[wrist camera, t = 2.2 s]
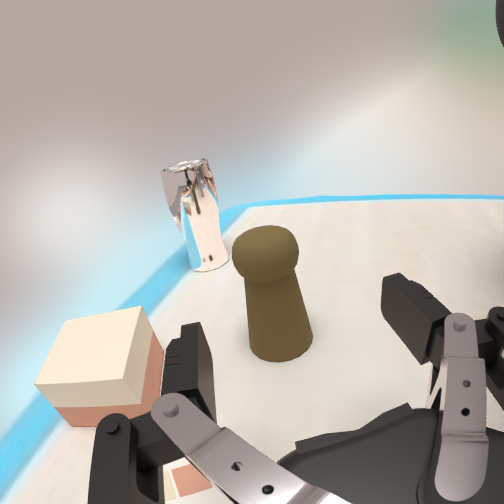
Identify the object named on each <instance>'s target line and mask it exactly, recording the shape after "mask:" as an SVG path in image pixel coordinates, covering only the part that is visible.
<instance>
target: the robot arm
mask: <svg viewBox="0 0 504 504" xmlns="http://www.w3.org/2000/svg"><path fill="white" fill-rule="evenodd" d="M496 24H497V30H498V34H499V37H500V40H501V43H502V45H503V47H504V0H496ZM381 311H382V314H383V317H384V318H385V320H386V321H387V322H388V323H389V325H390V326H391V327H392V328H393V330H394V331H395V332H396V333H397V335H398V336H399V337H400V339H401V340H402V341H403V342H404V344H405V345H406V346H407V348H408V349H409V350H410V351H411V353H412V354H413V355H414V357H415V358H416V359H417V361H418V362H419V363H420V365H423V364H425V363H427V362H429V361H431V363H432V366H431V371H430V381H429V389H428V396H427V402H426V406H425V408H417V409H411V407H410V405H409V404H408V403H405V404H403V405H401V406H399V407H396V408H394V409H392V410H389V411H387V412H385V413H382V414H381V415H380V416H378V417H377V418H375V419H374V420H372V421H371V422H369V423H368V424H366V425H365V426H363V427H362V428H360V429H358V430H355V431H346V432H337V433H327V434H322V435H319V436H315V437H312V438H308V439H305V440H301V441H297V442H295V445H296V450H294V451H292V452H290V453H289V454H287V455H286V456H284V457H283V458H282V459H280V460H279V461H278V462H277V463H275V462H274V461H272V460H271V459H269V458H268V457H267V456H265V455H264V454H262V453H261V452H259V451H258V450H257V449H255V448H254V447H253V446H251V445H250V444H248V443H247V442H246V441H244V440H243V439H242V438H240V437H239V436H238V435H237V434H235V433H234V432H233V431H231V430H230V429H228V428H226V427H223V428H221V427H220V426H218V425H217V420H216V407H215V393H214V377H213V362H212V356H211V352H210V348H209V346H208V343H207V340H206V337H205V335H204V332H203V329H202V326H201V324H200V322H196V323H191V324H186V325H182V326H181V336H180V338H177V339H172V340H171V342H170V344H169V345H168V347H167V348H166V355H165V359H166V360H165V363H164V367H165V368H164V372H163V381H162V390H161V397H159V398H158V399H157V400H156V401H155V402H154V403H153V405H152V407H151V411H149V412H147V413H145V414H143V415H140V416H137V417H134V418H132V419H128V417H126V416H125V415H123V414H121V413H112V414H109V415H107V416H105V417H104V418H103V419H101V421H100V422H99V423H98V425H97V428H96V434H95V440H94V447H93V455H92V462H91V471H90V481H89V492H88V504H165V494H164V477H163V465H165V464H168V463H171V462H173V461H176V460H179V459H181V458H185V459H186V460H187V461H188V462H189V463H190V464H191V465H192V466H193V467H194V468H195V469H196V470H197V471H198V472H199V473H200V474H201V475H202V476H204V477H205V478H206V479H207V480H208V481H209V482H210V483H211V484H212V485H213V486H214V487H215V488H216V489H217V490H219V491H220V492H221V493H222V494H223V495H224V496H225V497H226V498H227V499H229V500H230V501H231V502H232V503H233V504H504V432H501V431H498V430H495V429H491V428H488V427H486V386H487V387H488V389H489V390H490V392H491V393H492V394H493V396H494V397H495V399H496V400H497V402H498V403H499V405H500V406H501V407H502V409H503V410H504V358H503V357H502V356H501V355H502V352H503V350H504V307H494V308H492V309H490V311H489V313H488V316H487V319H481V320H475V321H474V320H473V319H472V318H471V317H469V316H468V315H466V314H463V313H453V314H452V313H451V312H450V311H449V310H448V309H447V308H446V307H445V306H444V305H443V304H442V303H441V302H440V301H438V300H437V299H436V298H435V297H433V295H432V294H431V293H430V292H428V290H426V289H425V288H424V287H423V286H422V285H421V284H419V283H416V282H414V281H412V280H410V281H409V280H408V279H407V278H405V277H404V276H403V275H402V274H401V273H396V274H392V275H389V276H386V277H384V278H383V281H382V295H381Z"/></svg>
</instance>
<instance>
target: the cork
mask: <svg viewBox="0 0 504 504" xmlns="http://www.w3.org/2000/svg"><path fill="white" fill-rule="evenodd" d="M298 255H299V249H298V244H297V242H296V239H295V237H294V235H293V234H292V233H291V232H290V231H289V230H287V229H286V228H283V227H279V226H272V225H270V226H261V227H256V228H253V229H250V230H248V231H246V232H244V233H243V234H241V235H240V236H239V237H237V239H236V240H235V242H234V244H233V247H232V260H233V263H234V266H235V268H236V269H237V271H238V272H239V274H240V275H241V276H242V277H244V282H245V294H246V305H247V317H248V328H249V339H250V348H251V350H252V352H253V353H254V354H255V355H256V356H257V357H259V358H260V359H263V360H266V361H269V362H284V361H289V360H292V359H294V358H297V357H299V356H301V355H302V354H303V353H304V352H305V351H307V350H308V348H309V347H310V345H311V343H312V339H313V334H312V331H311V327H310V323H309V320H308V316H307V312H306V309H305V305H304V302H303V298H302V294H301V291H300V287H299V284H298V280H297V277H296V273H295V270H294V268H295V266H296V265H297V261H298Z"/></svg>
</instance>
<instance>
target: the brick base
mask: <svg viewBox="0 0 504 504" xmlns="http://www.w3.org/2000/svg"><path fill="white" fill-rule="evenodd" d="M163 355H164V351H163V349H162V347H161V345H160V343H159V341H158V339H157V337H156V335H155V333H154V331H153V329H152V327H151V325H150V323H149V321H148V319H147V316H146V314H145V312H144V310H143V308H142V306H137V307H132V308H127V309H122V310H117V311H112V312H107V313H103V314H97V315H92V316H87V317H82V318H76V319H71V320H66V322H65V323H64V325H63V327H62V329H61V331H60V333H59V334H58V336H57V338H56V340H55V342H54V344H53V346H52V348H51V350H50V352H49V354H48V356H47V358H46V360H45V362H44V364H43V366H42V368H41V370H40V373H39V375H38V377H37V379H36V381H35V384H34V385H35V386H36V387H37V388H38V389H39V391H40V392H41V393H42V394H43V395H44V397H45V398H46V399H47V400H48V401H49V402H50V403H51V405H52V406H53V407H54V408H55V409H56V410H57V411H58V412H59V413H60V414H61V415H62V416H63V417H64V419H65V420H66V421H67V422H68V423H69V424H70V425H71V426H80V427H97V425H98V423H99V422H100V421H101V419H103V418H104V417H105V416H107V415H109V414H112V413H121V414H123V415H125V416H126V417H128V419H132V418H134V417H137V416H140V415H143V414H145V413H147V412H149V411H151V407H152V405H153V403H154V402H155V401H156V400H157V399H158V398H159V391H160V381H161V372H162V363H163Z"/></svg>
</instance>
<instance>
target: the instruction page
mask: <svg viewBox="0 0 504 504" xmlns="http://www.w3.org/2000/svg"><path fill="white" fill-rule="evenodd" d="M221 428H222V427H221ZM163 477H164V494H165V504H233V503H232V502H231V501H230V500H229V499H227V498H226V497H225V496H224V495H223V494H222V493H221V492H220V491H219V490H217V489H216V488H215V487H214V486H213V485H212V484H211V483H210V482H209V481H208V480H207V479H206V478H205V477H204V476H202V475H201V474H200V473H199V472H198V471H197V470H196V469H195V468H194V467H193V466H192V465H191V464H190V463H189V462H188V461H187V460H186V459H185V458H181V459H179V460H176V461H173V462H171V463H168V464H165V465H163Z"/></svg>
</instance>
